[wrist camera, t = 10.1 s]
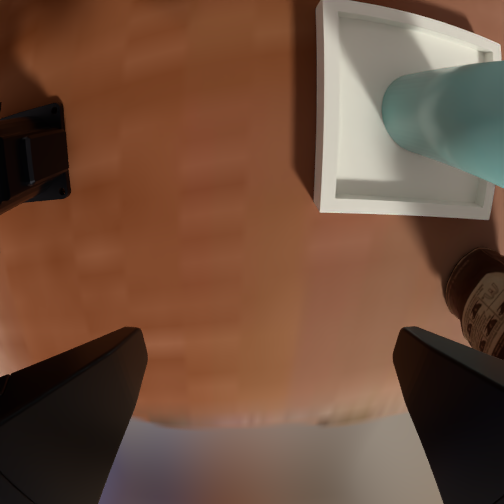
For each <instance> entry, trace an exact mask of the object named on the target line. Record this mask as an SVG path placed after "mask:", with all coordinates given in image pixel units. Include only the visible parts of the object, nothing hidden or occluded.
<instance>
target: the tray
mask: <svg viewBox="0 0 504 504" xmlns="http://www.w3.org/2000/svg"><path fill="white" fill-rule="evenodd" d="M316 43H317V116H316V155H315V180H314V201H313V202H314V203H315V205H316V207H317V208H318V210H319V212H326V213H363V214H390V215H412V216H432V217H449V218H465V219H479V220H489V218H490V213H491V207H492V202H493V196H494V190H495V184H493V183H491V182H488V181H486V180H484V179H481V178H479V177H477V176H474V175H472V174H469V173H467V172H464V171H462V170H459V169H457V168H454V167H452V166H449V165H446V164H444V163H441V162H438V161H435V160H433V159H430V158H427V157H424V156H421V155H418V154H415V153H412V152H410V151H407V150H405V149H403V148H401V147H400V146H399V145H397V144H396V143H395V142H394V141H393V139H392V138H391V137H390V135H389V134H388V132H387V130H386V128H385V126H384V123H383V119H382V100H383V96H384V93H385V91H386V89H387V88H388V86H389V85H390V84H391V83H392V82H393V81H394V80H395V79H397V78H398V77H400V76H403V75H407V74H412V73H417V72H422V71H428V70H433V69H439V68H446V67H452V66H459V65H467V64H474V63H483V62H493V61H501V47H500V44H498V43H496V42H494V41H491V40H489V39H487V38H484V37H482V36H479V35H477V34H474V33H472V32H469V31H466V30H464V29H461V28H458V27H455V26H452V25H450V24H447V23H444V22H440V21H437V20H434V19H431V18H427V17H424V16H420V15H417V14H413V13H409V12H405V11H401V10H397V9H393V8H388V7H383V6H379V5H374V4H368V3H363V2H357V1H350V0H320V2H319V4H318V5H317V7H316Z"/></svg>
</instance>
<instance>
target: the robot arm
mask: <svg viewBox="0 0 504 504" xmlns="http://www.w3.org/2000/svg"><path fill="white" fill-rule="evenodd" d="M55 108H57V113H55ZM0 110H1V102H0ZM68 168H69V164H68V154H67V143H66V132H65V129H64V110H63V106H62V104H61V103H53V104H49V105H45V106H41V107H38V108H34V109H31V110H27V111H24V112H20V113H17V114H14V115H11V116H8V117H5V118H2V119H0V215H1V214H3V213H5V212H6V211H8V210H10V209H12V208H14V207H16V206H18V205H19V204H21V203H25V202H34V201H45V200H55V199H64V198H66V197H68V196H69V195H70V193H71V188H70V180H69V172H68ZM62 188H63V189H64V190H65V194H64V193H63V192H62ZM147 360H148V355H147V350H146V346H145V342H144V338H143V334H142V331H141V329H140V328H137V327H123V328H121V329H119V330H116V331H114V332H111V333H109V334H107V335H104V336H102V337H100V338H97V339H95V340H92V341H90V342H87V343H85V344H83V345H80V346H78V347H75V348H73V349H71V350H68V351H66V352H63V353H61V354H58V355H56V356H53V357H51V358H49V359H46V360H44V361H41V362H39V363H36V364H34V365H31V366H29V367H26V368H24V369H21V370H19V371H16V372H14V373H12V374H11V375H9V374H7V375H5V376H2V377H0V504H98V502H99V500H100V497H101V494H102V491H103V488H104V486H105V483H106V481H107V478H108V475H109V472H110V469H111V467H112V465H113V462H114V459H115V457H116V454H117V452H118V449H119V446H120V444H121V441H122V439H123V436H124V434H125V431H126V429H127V426H128V424H129V421H130V419H131V416H132V414H133V411H134V409H135V406H136V402H137V399H138V395H139V391H140V387H141V384H142V380H143V376H144V373H145V369H146V365H147ZM393 363H394V366H395V370H396V373H397V376H398V380H399V383H400V387H401V390H402V394H403V397H404V400H405V403H406V406H407V409H408V411H409V414H410V416H411V418H412V421H413V423H414V426H415V428H416V431H417V433H418V435H419V438H420V440H421V443H422V446H423V448H424V450H425V453H426V456H427V459H428V461H429V464H430V467H431V469H432V472H433V475H434V478H435V480H436V483H437V486H438V489H439V492H440V495H441V497H442V500H443V503H444V504H504V360H502V359H499V358H496V357H494V356H491V355H489V354H486V353H483V352H481V351H478V350H476V349H473V348H470V347H468V346H465V345H463V344H460V343H457V342H455V341H452V340H450V339H447V338H444V337H442V336H439V335H437V334H434V333H432V332H429V331H426V330H424V329H421V328H419V327H415V326H412V327H403V328H402V329H401V330H400V332H399V335H398V338H397V342H396V345H395V348H394V351H393Z"/></svg>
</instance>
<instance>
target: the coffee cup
mask: <svg viewBox="0 0 504 504" xmlns="http://www.w3.org/2000/svg"><path fill="white" fill-rule="evenodd" d="M446 302H447V305H448V308H449V311H450V312H451V313H452V314H454V315H455V316H456V318H458V319H460V322H461V327H462V332H463V336H464V337H465V339H466V340H467V341H468V342H469V344H470V345H471V347H472V348H473V349H476V350H478V351H481V352H483V353H486V354H489V355H491V356H494V357H496V358H499V359H502V360H504V256H502V255H500V254H499V253H497V252H496V251H494V250H491V249H488V248H477V249H475V250H473V251H472V252H470V253H469V254H467V255H466V256H465V257H463V258H462V259H461V261H460V262H459V263H458V264H457V266H456V267H455V269H454V271H453V272H452V274H451V276H450V278H449V281H448V283H447V288H446Z"/></svg>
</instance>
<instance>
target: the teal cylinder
mask: <svg viewBox="0 0 504 504" xmlns="http://www.w3.org/2000/svg"><path fill="white" fill-rule="evenodd" d="M382 119H383V123H384V126H385V128H386V130H387V132H388V134H389V135H390V137H391V138H392V139H393V141H394V142H395V143H396V144H397V145H399V146H400V147H401V148H403V149H405V150H407V151H410V152H412V153H415V154H418V155H421V156H424V157H427V158H430V159H433V160H435V161H438V162H441V163H444V164H446V165H449V166H452V167H454V168H457V169H459V170H462V171H464V172H467V173H469V174H472V175H474V176H477V177H479V178H481V179H484V180H486V181H488V182H491V183H493V184H495V185H497V186H500V187H502V188H504V61H493V62H483V63H474V64H467V65H459V66H452V67H446V68H439V69H433V70H428V71H422V72H417V73H412V74H407V75H403V76H400V77H398V78H397V79H395V80H394V81H393V82H392V83H391V84H390V85H389V86H388V88H387V89H386V91H385V93H384V96H383V100H382Z"/></svg>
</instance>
